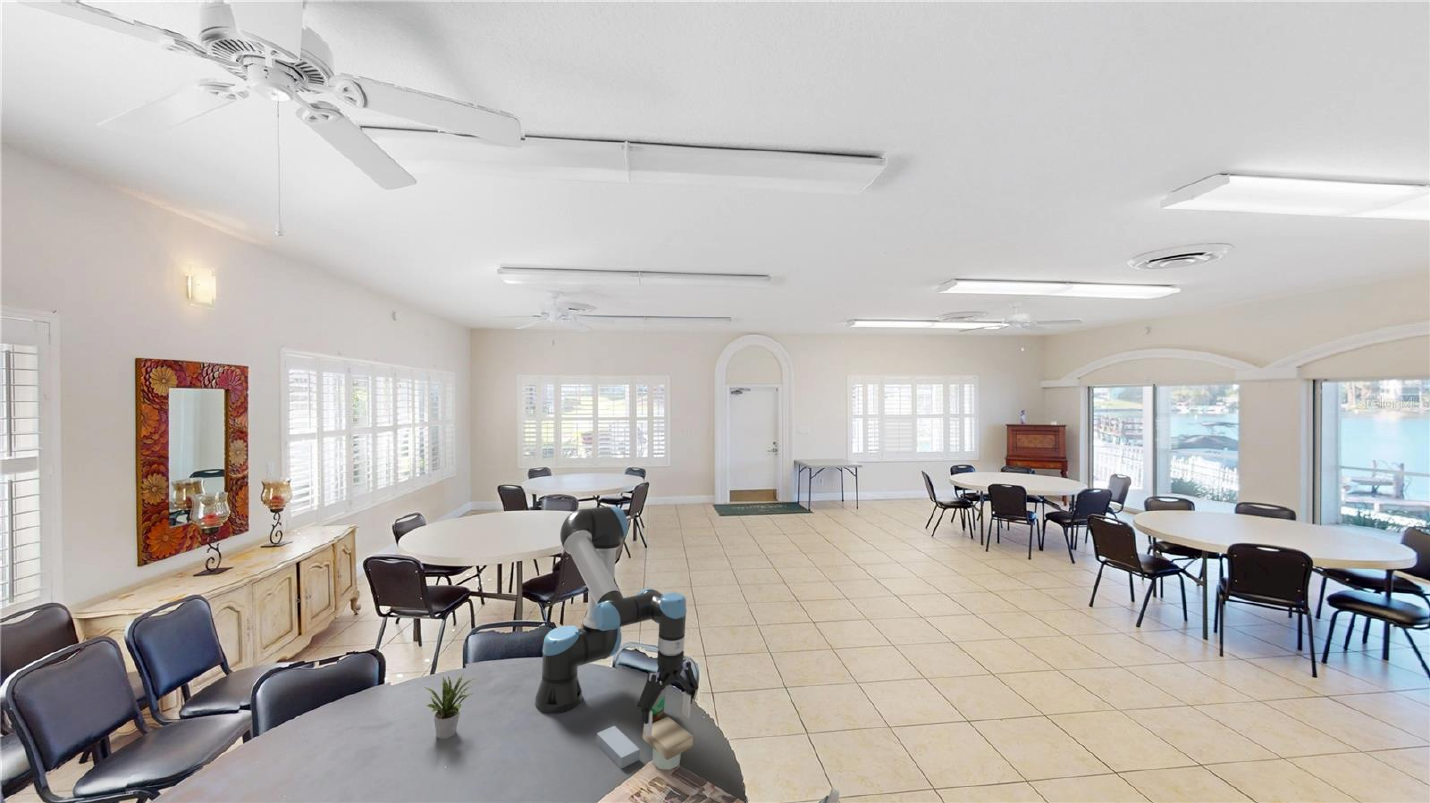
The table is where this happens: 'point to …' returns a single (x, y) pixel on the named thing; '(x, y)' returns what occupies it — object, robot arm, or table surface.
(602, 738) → the light gray rectangular block
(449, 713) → the house plant
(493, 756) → the table surface
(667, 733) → the gold metallic plate
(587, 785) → the table surface
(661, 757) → the cup
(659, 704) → the food container
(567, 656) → the robot arm
